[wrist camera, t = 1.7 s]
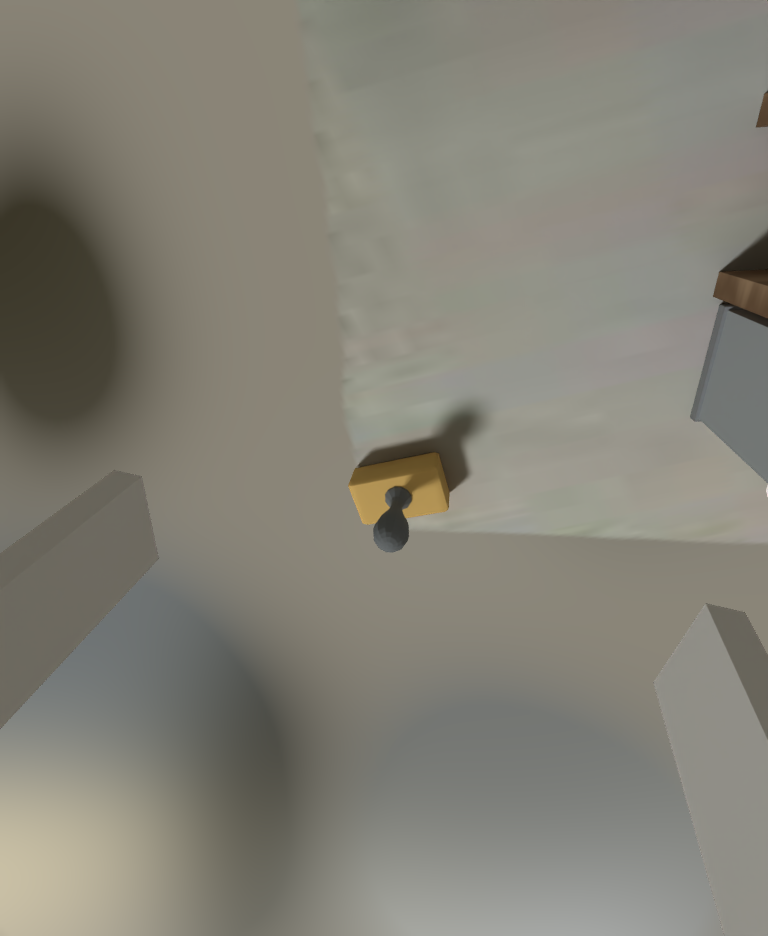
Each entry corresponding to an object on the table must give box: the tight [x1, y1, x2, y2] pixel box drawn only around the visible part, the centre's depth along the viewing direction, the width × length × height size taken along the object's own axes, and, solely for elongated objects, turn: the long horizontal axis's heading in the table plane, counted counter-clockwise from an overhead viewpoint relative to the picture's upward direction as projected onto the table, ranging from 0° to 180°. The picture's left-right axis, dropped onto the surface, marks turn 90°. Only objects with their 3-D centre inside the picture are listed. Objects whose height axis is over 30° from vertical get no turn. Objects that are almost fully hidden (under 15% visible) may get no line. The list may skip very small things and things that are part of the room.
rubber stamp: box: [348, 452, 449, 552], centre depth 50 cm, size 10×6×12 cm, turn 107°
